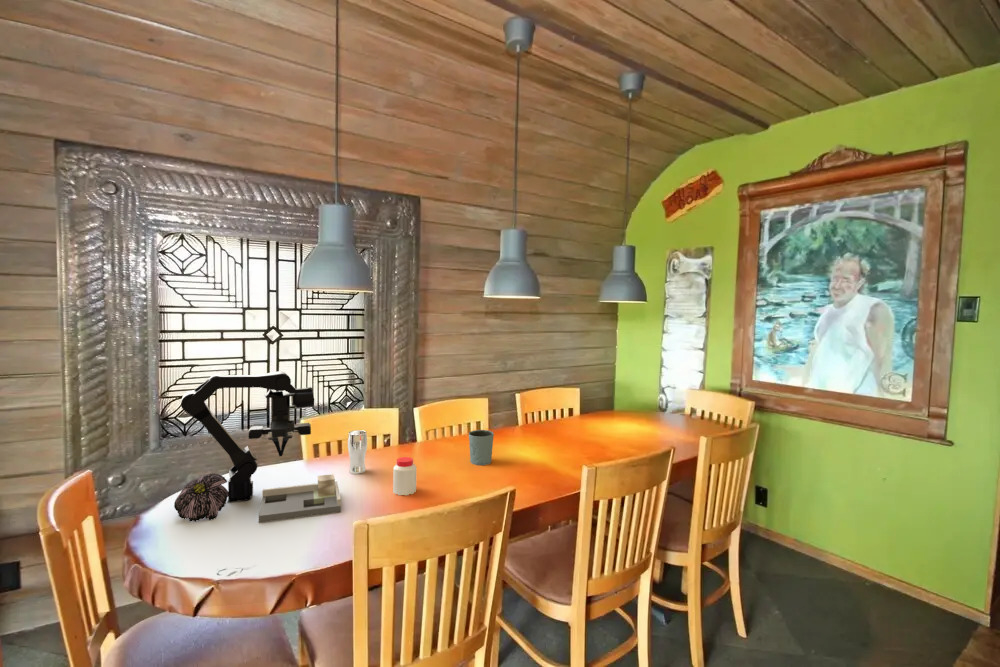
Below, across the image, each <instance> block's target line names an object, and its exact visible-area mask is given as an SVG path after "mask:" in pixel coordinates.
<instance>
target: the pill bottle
mask: <svg viewBox="0 0 1000 667" xmlns="http://www.w3.org/2000/svg"><path fill="white" fill-rule="evenodd" d="M392 471H393V472H392V474H393V475H392V493H393V494H394V493H395V494H394V495H396V494H398V495H397V496H401V495H405V496H410V495H409V494H411V495H413V494H415V493H416V491H417V465H416V464H415V463H414V459H413V458H412V457H410V456H401V457H398V458H397V459H396V464H395V465H394V466H393V468H392ZM414 492H415V493H414Z"/></svg>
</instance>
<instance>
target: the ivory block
mask: <svg viewBox="0 0 1000 667" xmlns="http://www.w3.org/2000/svg"><path fill="white" fill-rule="evenodd" d="M335 481H336V478H335V474H334V473H333V474H332V473H331V474H323V475H322V474H321V475H317V483H318V496H327V495H335Z"/></svg>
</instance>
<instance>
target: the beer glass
mask: <svg viewBox="0 0 1000 667" xmlns="http://www.w3.org/2000/svg"><path fill="white" fill-rule="evenodd" d="M367 435H368V434H367V431H366V430H364V429H363V430H362V429H355V430H350V431H348V436H347V450H348V456H349V468H348V473H350V474H351V475H360V474H363V473H365V472H366V462H365V461H366V455H367V448H368V436H367Z"/></svg>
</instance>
